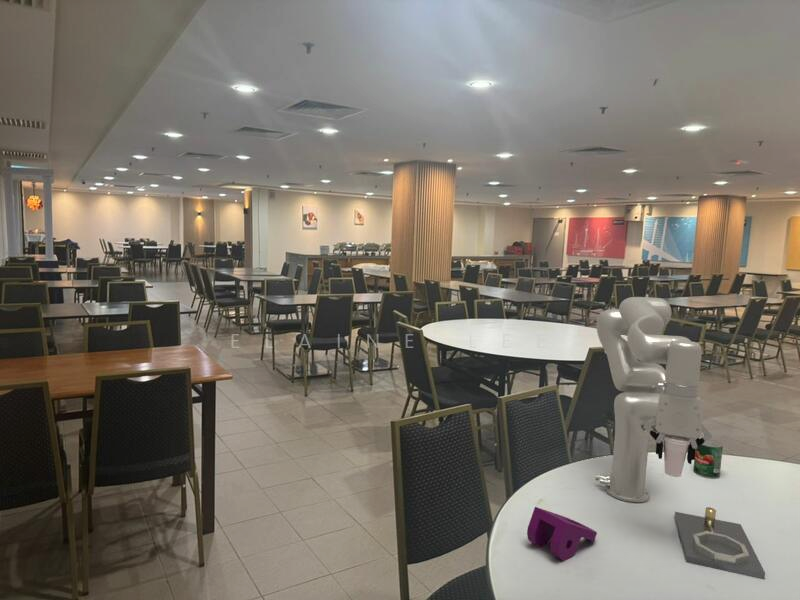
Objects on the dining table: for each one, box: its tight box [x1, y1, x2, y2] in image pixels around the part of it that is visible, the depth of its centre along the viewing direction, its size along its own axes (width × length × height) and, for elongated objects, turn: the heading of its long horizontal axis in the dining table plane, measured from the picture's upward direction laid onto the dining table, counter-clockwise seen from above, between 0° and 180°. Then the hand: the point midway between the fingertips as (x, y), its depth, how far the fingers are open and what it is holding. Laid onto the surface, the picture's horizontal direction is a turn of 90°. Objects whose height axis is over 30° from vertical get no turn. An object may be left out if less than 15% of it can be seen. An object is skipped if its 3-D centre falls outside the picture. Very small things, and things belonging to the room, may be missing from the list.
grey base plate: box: [674, 507, 766, 580], centre depth 137 cm, size 16×24×6 cm, turn 159°
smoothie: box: [662, 435, 691, 478], centre depth 136 cm, size 6×6×14 cm
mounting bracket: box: [526, 506, 598, 562], centre depth 134 cm, size 9×8×18 cm
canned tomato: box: [693, 438, 724, 480], centre depth 182 cm, size 8×8×11 cm
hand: (674, 458), depth 136 cm, fingers closed on smoothie, 6 cm apart
